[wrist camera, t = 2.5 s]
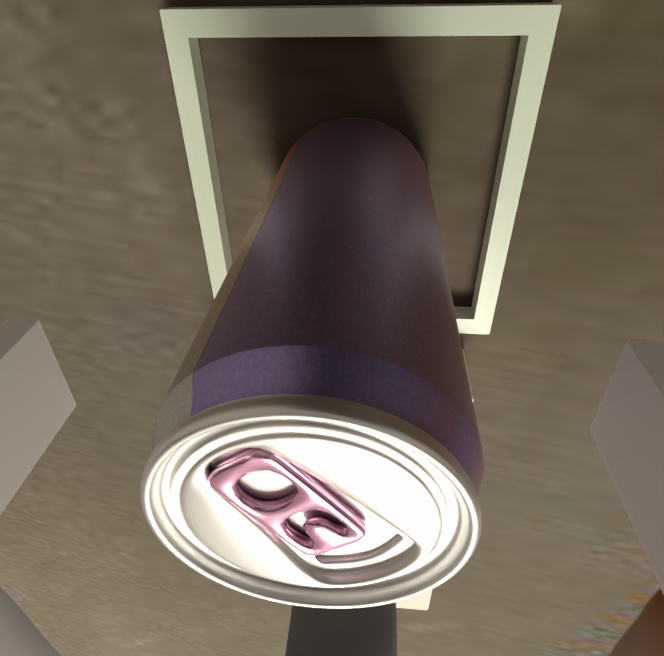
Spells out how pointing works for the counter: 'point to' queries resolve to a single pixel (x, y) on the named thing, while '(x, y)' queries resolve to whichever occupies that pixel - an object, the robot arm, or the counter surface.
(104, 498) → the counter surface
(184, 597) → the counter surface
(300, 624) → the single round plug
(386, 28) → the rectangular frame
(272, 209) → the beverage can
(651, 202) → the counter surface
